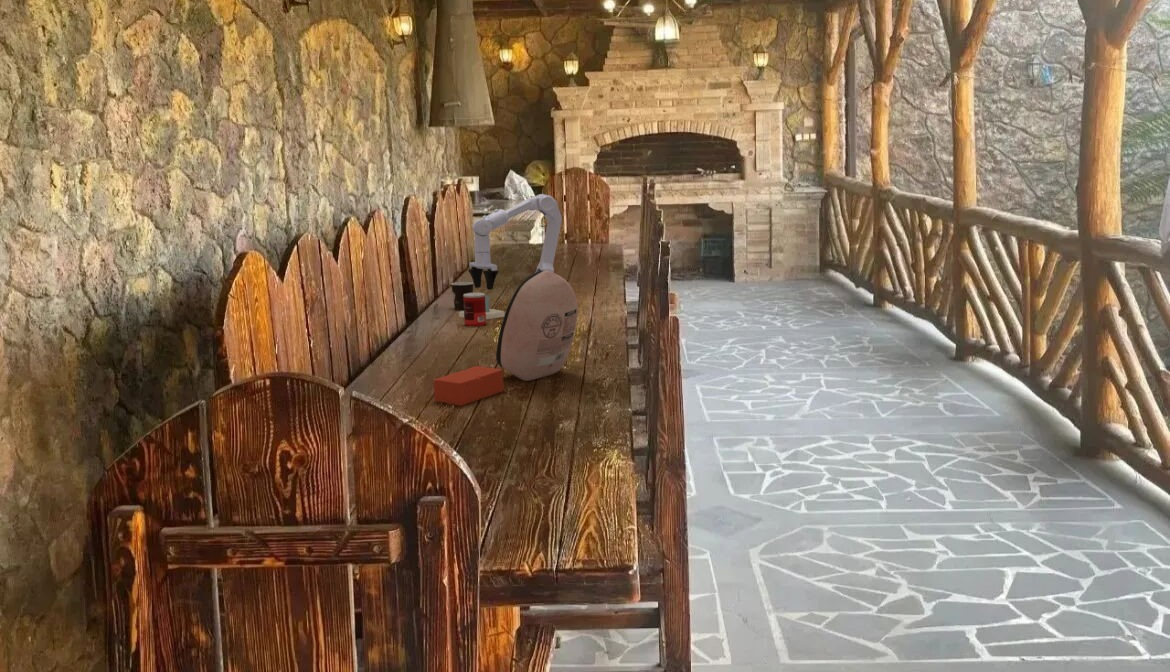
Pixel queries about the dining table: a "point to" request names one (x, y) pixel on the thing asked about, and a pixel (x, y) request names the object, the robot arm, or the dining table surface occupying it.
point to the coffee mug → (460, 293)
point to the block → (487, 302)
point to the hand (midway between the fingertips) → (483, 288)
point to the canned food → (474, 309)
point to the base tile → (488, 314)
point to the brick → (468, 385)
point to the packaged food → (538, 327)
